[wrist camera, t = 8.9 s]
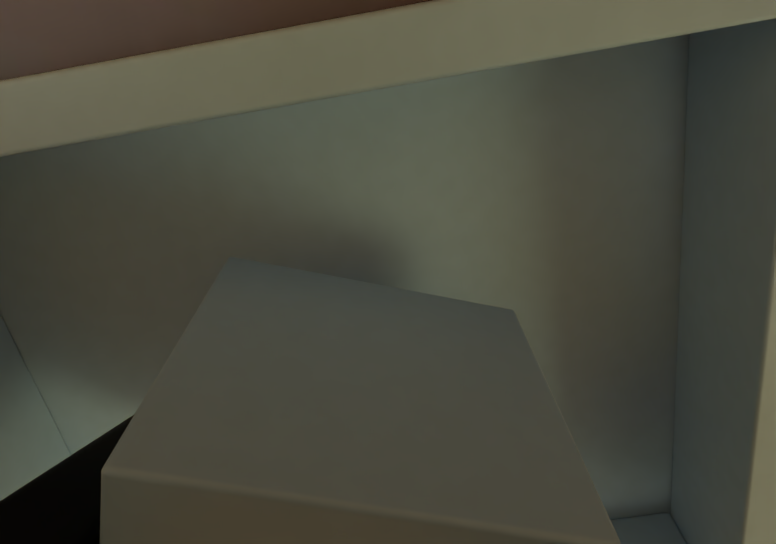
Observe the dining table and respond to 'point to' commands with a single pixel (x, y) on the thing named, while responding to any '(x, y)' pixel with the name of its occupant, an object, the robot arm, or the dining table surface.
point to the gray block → (347, 425)
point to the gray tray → (427, 221)
